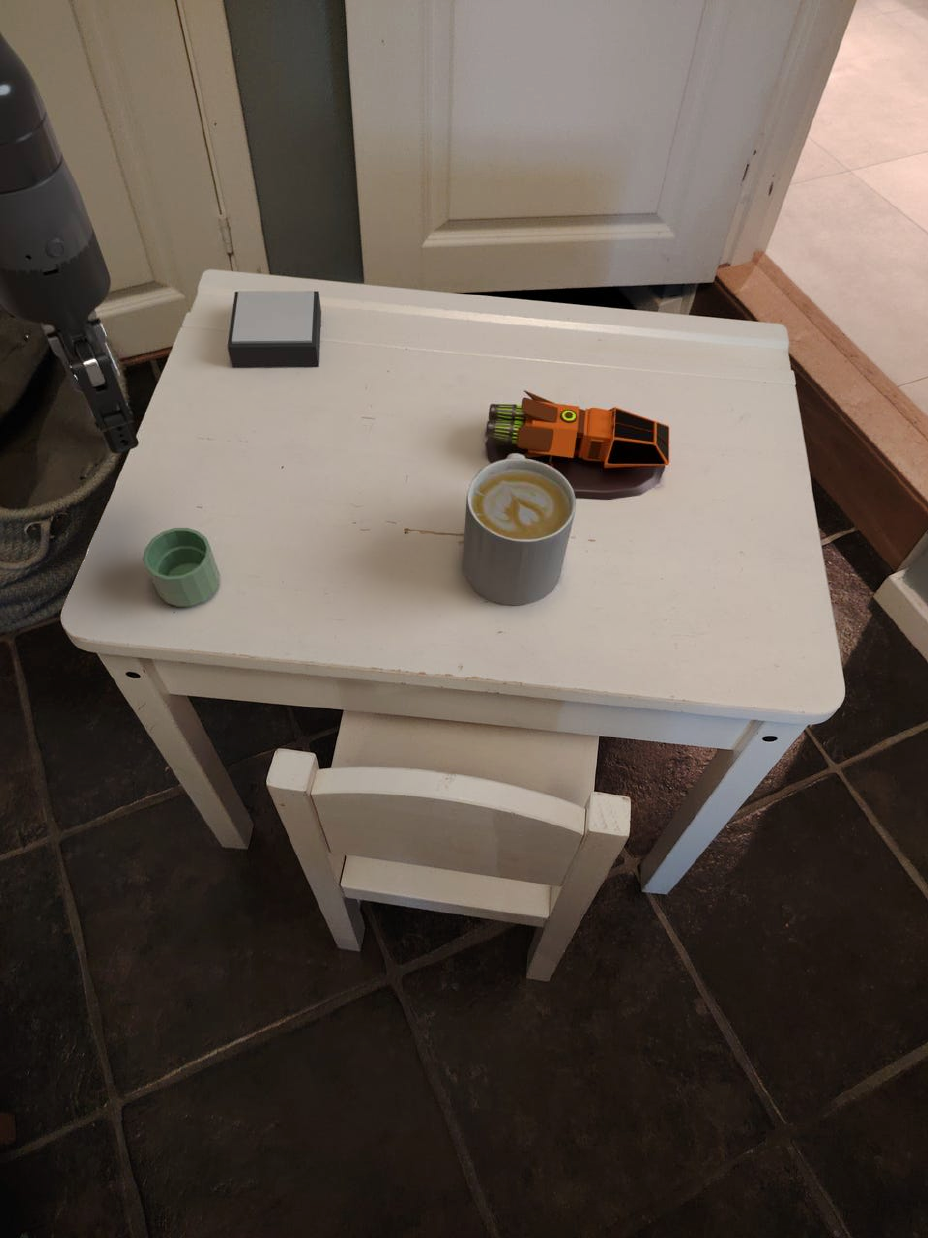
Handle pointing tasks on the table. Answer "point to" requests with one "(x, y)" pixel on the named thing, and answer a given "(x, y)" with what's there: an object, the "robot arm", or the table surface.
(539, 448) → the toy spacecraft
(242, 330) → the scale
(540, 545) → the coffee mug
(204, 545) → the green cup
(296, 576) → the table surface
